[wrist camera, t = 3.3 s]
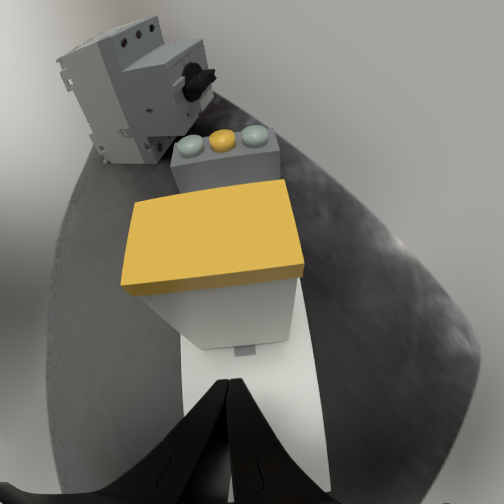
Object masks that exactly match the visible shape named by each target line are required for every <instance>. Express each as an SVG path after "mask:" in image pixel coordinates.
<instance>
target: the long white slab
mask: <svg viewBox="0 0 504 504" xmlns="http://www.w3.org/2000/svg"><path fill="white" fill-rule="evenodd" d="M170 168H171V171H172V173H173V176H174V178H175V181H176V184H177V186H178V189H179V191H180V194H183V193H189V192H195V191H201V190H207V189H213V188H220V187H227V186H234V185H241V184H248V183H256V182H264V181H273V180H280V150H279V146H278V143H277V139H276V136H275V133H274V129H273V128H268V129H266V128H265V127H263V126H259V125H253V126H249V127H246V128H245V129H243V131H242V132H235V133H234V132H233V131H231V130H218V131H216V132H214V133H212V134H211V135H210V136H209V137H203V138H201V136H199V135H189V136H186V137H184V138H182V139H181V140H180V141H179V142H177V143H175V144H174V149H173V154H172V160H171V165H170ZM181 369H182V391H183V408H184V416H185V415H186V414H187V413H188V412H189V411H190V410H191V409H192V408H193V406H194V405H195V404H196V403H197V402H198V401H199V400H200V399H201V397H202V396H203V395H204V394H205V393H206V392H207V391H208V390H209V388H210V387H211V386H212V385H213V384H214V383H215V381H216V380H218V379H229V380H230V379H232V378H242V379H243V380H244V382H245V384H246V386H247V388H248V389H249V391H250V393H251V395H252V396H253V398H254V400H255V401H256V403H257V405H258V407H259V408H260V410H261V412H262V413H263V415H264V417H265V418H266V420H267V422H268V423H269V425H270V427H271V428H272V430H273V431H274V433H275V435H276V436H277V438H278V439H279V441H280V442H281V444H282V445H283V447H284V448H285V450H286V451H287V453H288V454H289V455H290V457H291V458H292V459H293V460H294V461H295V462H296V464H297V465H298V466H299V467H300V468H301V469H302V470H303V471H304V472H305V473H306V474H307V475H308V476H309V477H310V478H311V479H312V480H313V481H314V482H315V483H316V484H317V485H318V486H319V487H320V488H321V489H322V490H323V491H324V492H329V491H331V486H330V476H329V466H328V457H327V448H326V440H325V432H324V424H323V416H322V409H321V402H320V395H319V388H318V382H317V375H316V369H315V362H314V356H313V350H312V344H311V338H310V333H309V327H308V321H307V316H306V310H305V305H304V299H303V294H302V289H301V284H300V279H299V278H298V280H297V287H296V294H295V301H294V308H293V315H292V321H291V328H290V334H289V340H285V341H278V342H270V343H262V344H254V345H244V346H235V347H224V348H211V349H199V348H198V347H196V346H195V345H194V344H193V343H191V342H190V341H189V340H188V339H186V338H185V337H184V336H183V335H182V334H181ZM228 502H234V496H233V487H232V477H231V479H230V488H229V496H228Z"/></svg>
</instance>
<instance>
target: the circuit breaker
mask: <svg viewBox="0 0 504 504" xmlns="http://www.w3.org/2000/svg"><path fill="white" fill-rule="evenodd" d="M59 61H60V65H61V68H62V71H61V72H60V74H61V77H62V79H63V82H64V84H65V86H66V88H67V91H68V92H70V91H72V90H73V91H74V93H75V96H76V98H77V100H78V102H79V104H80V106H81V109H82V111H83V113H84V115H85V117H86V119H87V121H88V123H89V125H90V127H91V129H92V133H91V134H90V135H89V136H90V138H91V140H92V142H93V144H94V146H95V148H96V150H97V151H98V153H99V154H102V155H103V157H104V159H105V160H104V161H103V162H104V164H107V163H108V162H111V163H112V164H157V163H158V162H159V160H160V159H161V157H162V156H163V155H164V153H165V152H166V150H167V149H168V148H169V146H170V145H171V143H172V142H173V141H174V139H175V138H176V137H177V136H185V134H186V133H187V132H188V130H189V129H190V128H191V126H192V125H193V124H194V122H195V121H196V120H197V118H198V117H199V115H198V114H201V113H202V112H203V111H204V109H205V108H206V107H207V106H208V104H209V103H210V102H211V101H212V99H213V98H214V96H213V91H212V87H211V83H213V82H214V81H215V80H216V77H215V75H214V72H215V69H209V70H208V65H207V60H206V54H205V49H204V45H203V39H195V40H187V41H180V42H174V43H168V44H164V41H163V37H162V33H161V29H160V25H159V21H158V17H157V16H152V17H148V18H144V19H141V20H138V21H134V22H131V23H128V24H125V25H122V26H119V27H116V28H114V29H111V30H108V31H106V32H104V33H101V34H99V35H97V36H95V37H93V38H91V39H90V40H88V41H86V42H84V43H83V44H82V45H79V46H77V47H76V48H74V49H72V50H71V51H69V52H68V53H66V54H64V55H63V56H61V57H60V58H58V59H57V60H56V62H57V63H58V62H59ZM68 79H71V80H72V82H73V85H70V84H69V82H68ZM159 143H160V144H159ZM158 144H159V146H158ZM99 146H103V148H104V149H105V150H101V148H100V147H99Z"/></svg>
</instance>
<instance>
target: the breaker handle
mask: <svg viewBox="0 0 504 504" xmlns="http://www.w3.org/2000/svg"><path fill="white" fill-rule="evenodd" d="M303 269H304V259H303V255H302V250H301V246H300V242H299V237H298V233H297V229H296V225H295V220H294V216H293V212H292V208H291V204H290V200H289V196H288V192H287V188H286V184H285V181H284V179H282V180H273V181H264V182H256V183H248V184H241V185H234V186H227V187H220V188H213V189H207V190H201V191H195V192H189V193H183V194H177V195H172V196H166V197H161V198H156V199H151V200H146V201H141V202H136V203H135V205H134V210H133V215H132V219H131V224H130V229H129V235H128V240H127V246H126V252H125V258H124V264H123V271H122V278H121V286H122V287H123V288H124V289H125V290H126V291H127V292H128V293H129V294H130V295H131V296H139V297H140V298H141V299H142V300H143V301H144V302H145V303H146V304H147V305H149V306H150V307H151V308H152V309H153V310H154V311H155V312H156V313H157V314H159V315H160V316H161V317H162V318H163V319H164V320H165V321H166V322H168V323H169V324H170V325H171V326H172V327H173V328H175V329H176V330H177V331H178V332H179V333H180V334H182V335H183V336H184V337H185V338H186V339H188V340H189V341H190V342H191V343H193V344H194V345H195V346H196V347H198V348H199V349H211V348H224V347H235V346H244V345H254V344H262V343H270V342H278V341H285V340H289V334H290V328H291V321H292V315H293V308H294V301H295V294H296V287H297V280H298V278H299V277H302V275H303Z"/></svg>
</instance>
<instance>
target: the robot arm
mask: <svg viewBox="0 0 504 504" xmlns="http://www.w3.org/2000/svg"><path fill="white" fill-rule="evenodd" d="M231 477H232V487H233V496H234V504H342V503H340V502H338V501H336V500H335V499H333V498H332V497H330V496H329V495H328V494H327V493H326V492H324V491H323V490H322V489H321V488H320V487H319V486H318V485H317V484H316V483H315V482H314V481H313V480H312V479H311V478H310V477H309V476H308V475H307V474H306V473H305V472H304V471H303V470H302V469H301V468H300V467H299V466H298V465H297V464H296V462H295V461H294V460H293V459H292V458H291V457H290V455H289V454H288V453H287V451H286V450H285V448H284V447H283V445H282V444H281V442H280V441H279V439H278V438H277V436H276V435H275V433H274V431H273V430H272V428H271V427H270V425H269V423H268V422H267V420H266V418H265V417H264V415H263V413H262V412H261V410H260V408H259V407H258V405H257V403H256V401H255V400H254V398H253V396H252V395H251V393H250V391H249V389H248V388H247V386H246V384H245V382H244V380H243V379H242V378H232V379H230V380H229V379H218V380H216V381H215V383H214V384H213V385H212V386H211V387H210V388H209V390H208V391H207V392H206V393H205V394H204V395H203V396H202V397H201V399H200V400H199V401H198V402H197V403H196V404H195V405H194V406H193V408H192V409H191V410H190V411H189V412H188V413H187V414H186V415H185V416H184V417H183V419H182V420H181V421H180V422H179V423H178V424H177V425H176V426H175V427H174V428H173V429H172V430H171V431H170V432H169V434H168V435H167V436H166V437H165V438H164V439H163V441H161V442H160V443H159V444H158V445H157V446H156V447H155V448H154V449H153V450H152V451H151V452H150V453H149V454H148V455H147V456H146V457H144V458H143V459H142V460H141V461H140V462H138V463H137V464H136V465H135V466H133V467H132V468H131V469H130V470H128V471H127V472H126V473H124V474H123V475H122V476H120V477H119V478H117V479H116V480H115V481H113V482H112V483H111V484H109V485H108V486H106V487H104V488H102V489H100V490H97V491H94V492H89V493H76V494H33V493H28V492H24V491H21V490H19V489H17V488H16V487H14V486H13V485H11V484H9V483H7V482H0V502H1V503H3V504H228V496H229V488H230V479H231ZM446 504H449V503H446Z"/></svg>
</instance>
